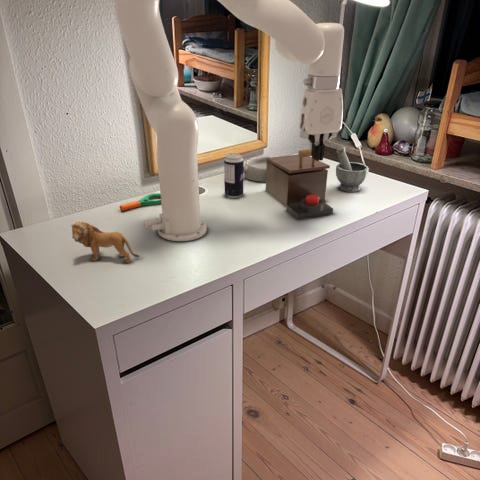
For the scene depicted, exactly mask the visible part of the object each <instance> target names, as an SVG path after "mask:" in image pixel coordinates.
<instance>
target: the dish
mask: <svg viewBox="0 0 480 480" xmlns="http://www.w3.org/2000/svg"><path fill="white" fill-rule="evenodd" d="M272 157H273V156H268V155H267V156H265V155H264V156H257V157H251V158H249V159H248V160H246V161H245V163H244V178H246V179H248V180H251V181H255V182H258V183H259V182H260V183H266V166H267V158H272Z"/></svg>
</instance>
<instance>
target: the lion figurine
mask: <svg viewBox="0 0 480 480" xmlns="http://www.w3.org/2000/svg"><path fill="white" fill-rule="evenodd" d="M70 226H71V235H72V236H71V237H72V239H73V240H74V242H75V243H79V244H81V245H83V247H85V248H90V250H91V252H92V254H93V257H91V260H92V261H93V262H95V261H98V259H99V255H100V248H104V249H107V248H108V249H109V248H111V247H114V248H115V249H116V252H118V257H125V258H126V259H124V263H126V264H129V263H130V262H131V256H133V257H134V258H140V255H139V254H137V253H134V252H133V250H132V247H131V246H130V244H129V241H128V240H127V238H126V237H125V235H124V234H122V233H121V232H119V231H112V232H106V231H101V230H100V229H99V228H98V227H96V226H94V225H93V224H90V223H88V222H85V221H76V222H75V223H73V224H71V225H70ZM125 245H126V248H127V249H128V251H129V253H130V254H131V256H130V254H129V253H128V251H126V249H125Z"/></svg>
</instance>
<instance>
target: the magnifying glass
mask: <svg viewBox="0 0 480 480" xmlns="http://www.w3.org/2000/svg"><path fill="white" fill-rule="evenodd" d="M157 198H159V199H157ZM152 199H155V200H152ZM156 205H157V206H158V205H162V204H161V194H160V193H157V192H156V193H150V194H147V195H145V196H144V197H142V198H141V199H139V200H135V201H132V202H128V203H124V204H120V205H119V210H120V211H122V212H123V211H128V210H132V209H135V208H138V207H144V206H145V207H146V206H156Z"/></svg>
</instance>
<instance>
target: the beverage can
mask: <svg viewBox="0 0 480 480" xmlns="http://www.w3.org/2000/svg"><path fill="white" fill-rule="evenodd" d="M223 165H224V166H223V172H224V175H223V177H224V181H223V182H224V194H225V196H227V198H230V199H238V198H241V196H243V194H244V176H245V173H244V166H245V163H244V158H243V155H242V154H241V153H236V152H235V153H227V154H225V158H224V159H223Z"/></svg>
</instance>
